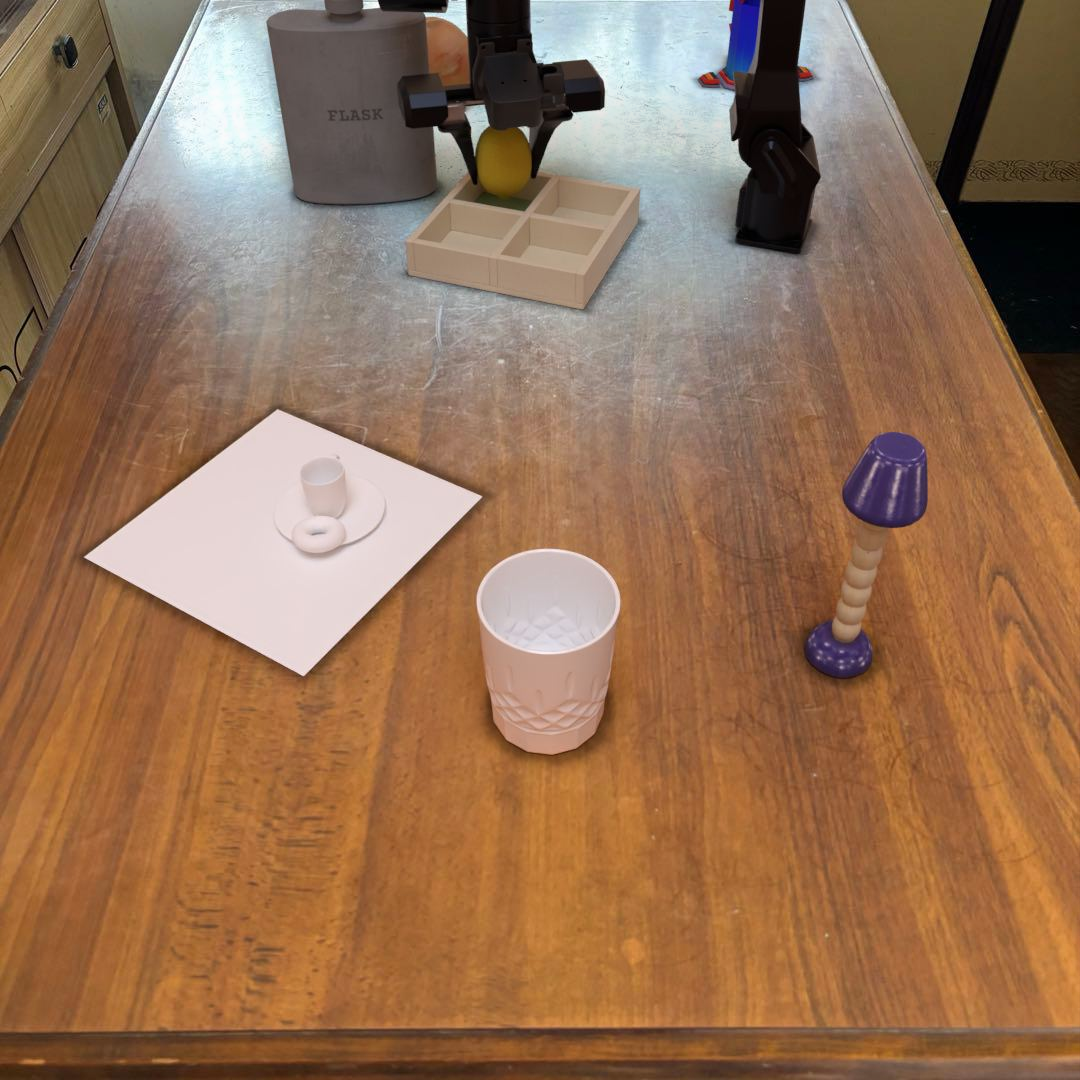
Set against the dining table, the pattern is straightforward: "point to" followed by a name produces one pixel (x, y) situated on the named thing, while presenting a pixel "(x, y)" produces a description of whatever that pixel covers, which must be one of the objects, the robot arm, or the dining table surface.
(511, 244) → the tray
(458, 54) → the onion
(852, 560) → the toy lamp
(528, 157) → the lemon
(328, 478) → the teacup and saucer
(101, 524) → the dining table surface
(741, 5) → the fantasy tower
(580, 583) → the white cup
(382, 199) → the flask
